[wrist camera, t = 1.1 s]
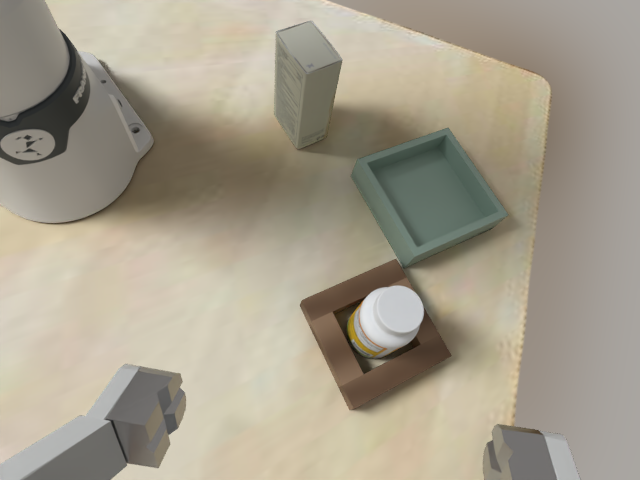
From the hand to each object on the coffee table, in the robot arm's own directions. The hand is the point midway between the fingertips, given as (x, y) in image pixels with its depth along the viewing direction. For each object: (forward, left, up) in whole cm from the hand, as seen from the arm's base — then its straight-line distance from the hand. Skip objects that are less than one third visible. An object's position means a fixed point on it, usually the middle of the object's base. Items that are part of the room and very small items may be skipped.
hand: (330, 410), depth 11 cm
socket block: (-3, +12, -31) cm, 33 cm away
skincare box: (-29, +16, -31) cm, 46 cm away
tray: (-14, +25, -31) cm, 42 cm away
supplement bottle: (-3, +12, -31) cm, 33 cm away
